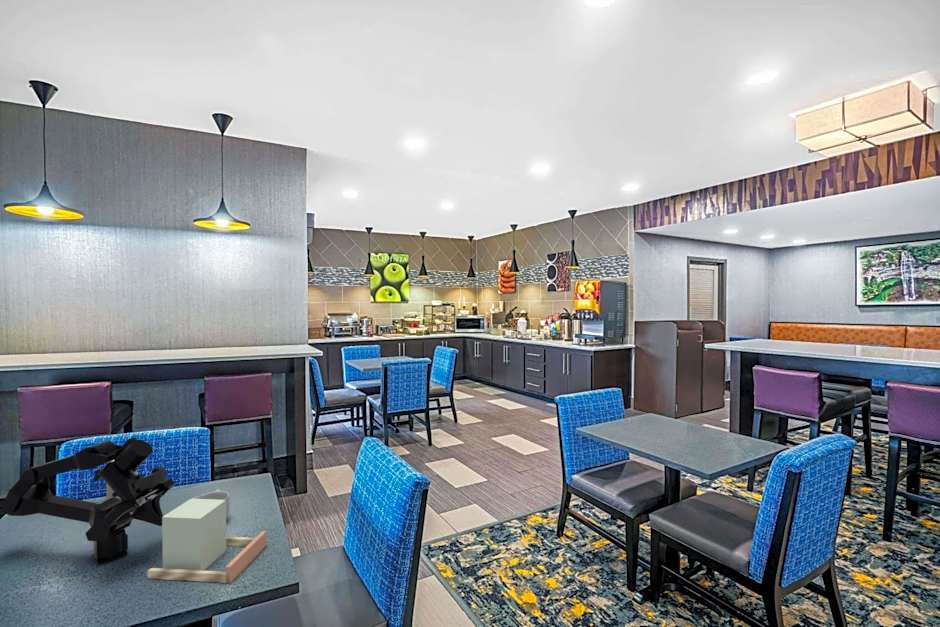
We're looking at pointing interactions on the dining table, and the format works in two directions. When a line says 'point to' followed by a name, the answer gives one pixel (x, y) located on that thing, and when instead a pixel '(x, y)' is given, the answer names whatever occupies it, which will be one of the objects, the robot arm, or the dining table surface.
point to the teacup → (216, 497)
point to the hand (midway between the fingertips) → (163, 524)
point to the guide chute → (232, 571)
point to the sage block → (194, 534)
